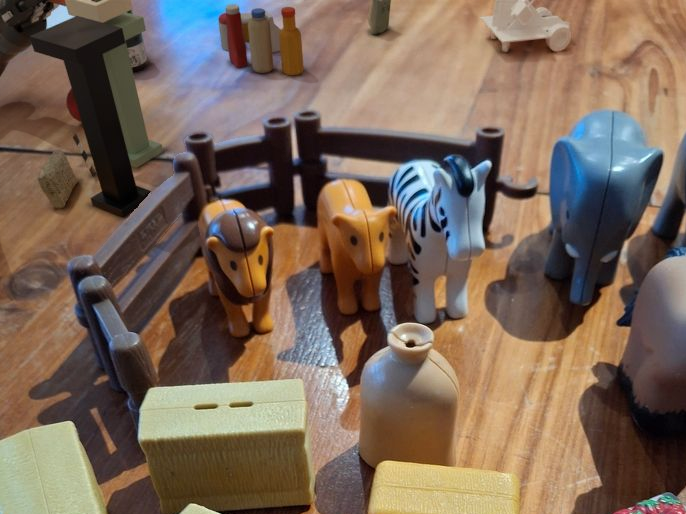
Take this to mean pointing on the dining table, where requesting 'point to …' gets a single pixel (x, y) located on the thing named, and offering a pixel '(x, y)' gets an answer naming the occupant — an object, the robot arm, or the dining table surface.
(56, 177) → the cuneiform tablet
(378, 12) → the olive upright narrow post
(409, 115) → the dining table surface
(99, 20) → the beige flat block
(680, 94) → the dining table surface
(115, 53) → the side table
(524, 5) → the catapult
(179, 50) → the dining table surface
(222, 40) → the toy food
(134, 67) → the ink bottle
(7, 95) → the dining table surface
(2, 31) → the robot arm
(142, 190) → the tall stand
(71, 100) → the onion
